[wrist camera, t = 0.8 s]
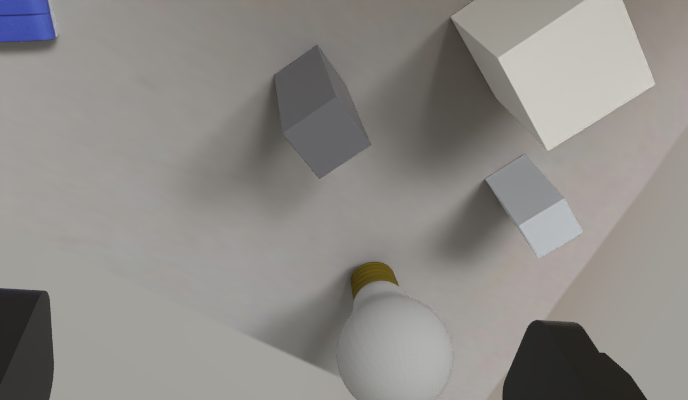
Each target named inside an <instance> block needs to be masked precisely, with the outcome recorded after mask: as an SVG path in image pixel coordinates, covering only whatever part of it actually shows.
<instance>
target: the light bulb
mask: <svg viewBox="0 0 688 400" xmlns="http://www.w3.org/2000/svg"><path fill="white" fill-rule="evenodd" d="M351 287H352V293H353V298H354V302H353V309H352V314H351V315H350V317H349V318H348V320H347V321H346V322H345V324H344V326H343V328H342V330H341V333H340V336H339V340H338V345H337V362H338V368H339V372H340V375H341V377H342V380H343V382H344V384H345V385H346V387H347V389H348V390H349V392H350V393H351V394H352V395H353V396H354V397H355V398H356V399H357V400H435V399H437V397H438V396H439V395H440V394H441V393H442V391H443V390H444V388H445V386H446V385H447V383H448V380H449V378H450V375H451V371H452V366H453V347H452V342H451V338H450V335H449V333H448V331H447V329H446V327H445V325H444V323H443V322H442V320H441V319H440V318H439V316H438V315H437V314H436V313H435V312H434V311H433V310H432V309H430V308H429V307H428V306H426V305H425V304H423V303H422V302H420V301H418V300H415V299H413V298H410V297H409V296H408V295H407V294H406V292H405V291H404V290H403V289H401V288H400V287H399V285H398V282H397V280H396V278H395V275H394V273H393V271H392V269H391V268H390V267H389V266H387V265H386V264H384V263H380V262H370V263H366V264H364V265H362V266H360V267H359V268H358V269H357V270H356V271H355V272H354V273H353V275H352V278H351Z"/></svg>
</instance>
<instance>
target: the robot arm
mask: <svg viewBox="0 0 688 400" xmlns="http://www.w3.org/2000/svg"><path fill="white" fill-rule="evenodd" d="M53 371H54V359H53V343H52V328H51V312H50V299H49V295H48V293H47V292H46V291H39V290H20V289H4V288H0V400H49V398H50V393H51V388H52V381H53ZM503 400H647V399H646V397H645V396H644V395H643V393H642V392H641V390H640V389H639V387H638V386H637V384H636V383H635V381H634V380H633V379H632V377H631V376H630V375H629V374H628V373H627V372H626V371H625V370H624V369H623V368H621V367H620V366H619V365H618V364H617V363H616V362H614V361H613V360H612V359H611V358H610V357H609V356H608V355H606V354H605V353H599V351H598V350H597V348H596V347H595V345H594V344H593V342H592V341H591V339H590V338H589V336H588V335H587V333H586V332H585V330H584V329H583V327H582V326H580V325H579V324H578V323H574V322H561V321H543V320H535V321H533V322H532V323H530V325H529V326H528V328H527V330H526V332H525V334H524V337H523V339H522V341H521V344H520V346H519V348H518V351H517V353H516V355H515V358H514V360H513V362H512V365H511V367H510V370H509V372H508V374H507V377H506V379H505V382H504V386H503Z"/></svg>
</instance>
